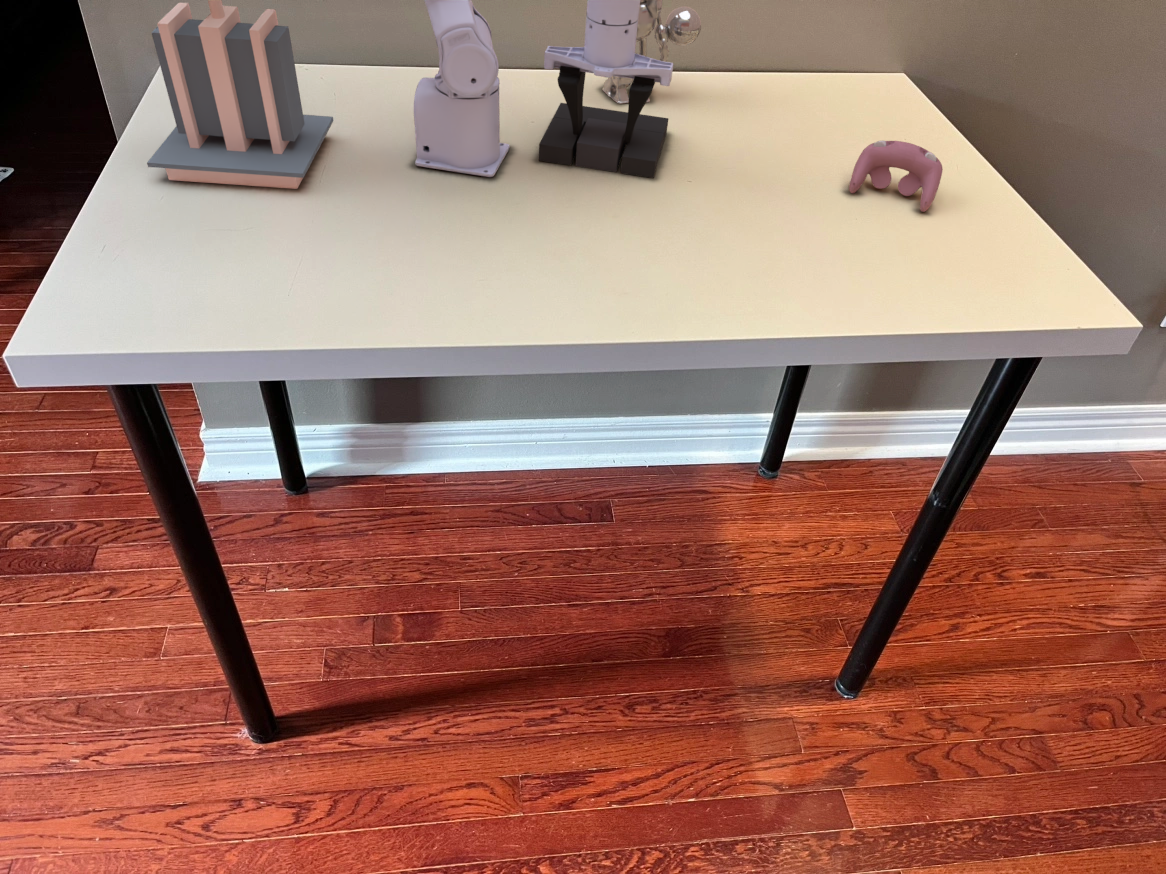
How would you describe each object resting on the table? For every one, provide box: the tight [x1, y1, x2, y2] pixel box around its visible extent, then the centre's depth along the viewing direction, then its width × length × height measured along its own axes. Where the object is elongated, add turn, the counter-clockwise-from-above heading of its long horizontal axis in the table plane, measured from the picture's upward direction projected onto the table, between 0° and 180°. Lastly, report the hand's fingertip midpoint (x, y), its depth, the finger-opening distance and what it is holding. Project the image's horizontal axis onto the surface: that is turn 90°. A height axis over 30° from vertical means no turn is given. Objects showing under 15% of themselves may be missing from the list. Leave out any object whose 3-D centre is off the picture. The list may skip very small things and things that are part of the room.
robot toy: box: [601, 0, 702, 105], centre depth 116 cm, size 15×6×15 cm, turn 105°
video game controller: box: [848, 140, 943, 213], centre depth 104 cm, size 10×5×7 cm, turn 65°
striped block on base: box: [146, 0, 334, 190], centre depth 90 cm, size 18×14×33 cm
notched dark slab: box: [538, 102, 669, 179], centre depth 109 cm, size 14×12×2 cm
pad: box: [575, 118, 627, 173], centre depth 107 cm, size 5×7×3 cm
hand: (602, 135), depth 106 cm, fingers open, 6 cm apart
